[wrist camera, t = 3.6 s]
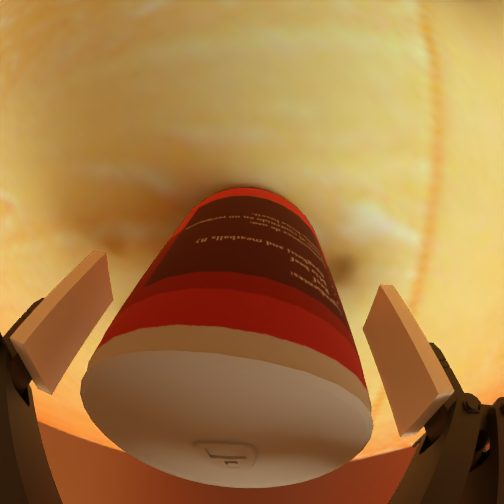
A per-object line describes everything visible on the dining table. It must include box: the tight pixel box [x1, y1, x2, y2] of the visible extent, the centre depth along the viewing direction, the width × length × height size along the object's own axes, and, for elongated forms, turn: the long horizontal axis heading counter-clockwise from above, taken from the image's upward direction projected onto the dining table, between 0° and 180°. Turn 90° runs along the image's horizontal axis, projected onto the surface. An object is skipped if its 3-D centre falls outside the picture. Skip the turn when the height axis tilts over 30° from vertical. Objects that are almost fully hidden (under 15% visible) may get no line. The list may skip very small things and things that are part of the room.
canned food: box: [80, 188, 373, 488], centre depth 11 cm, size 8×8×11 cm
